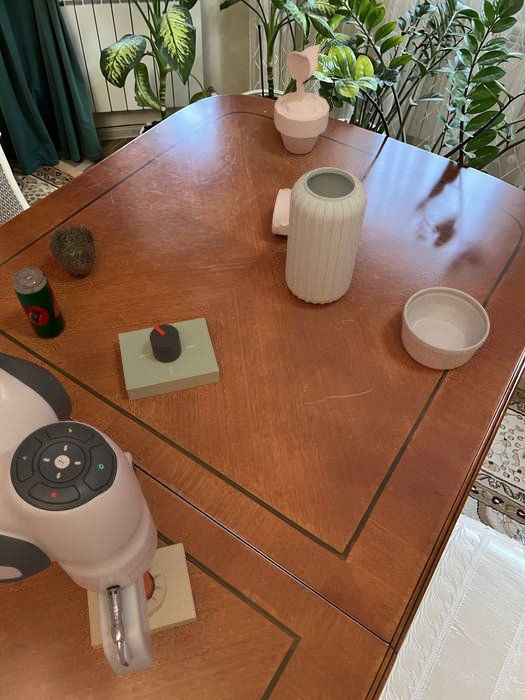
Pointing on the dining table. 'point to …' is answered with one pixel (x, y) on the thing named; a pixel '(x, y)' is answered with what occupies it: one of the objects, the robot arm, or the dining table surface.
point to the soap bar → (281, 212)
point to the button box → (159, 594)
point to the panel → (180, 374)
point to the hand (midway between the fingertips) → (132, 581)
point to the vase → (324, 234)
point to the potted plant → (301, 105)
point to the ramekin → (443, 327)
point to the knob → (165, 343)
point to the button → (147, 584)
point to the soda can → (38, 302)
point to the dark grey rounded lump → (74, 249)
